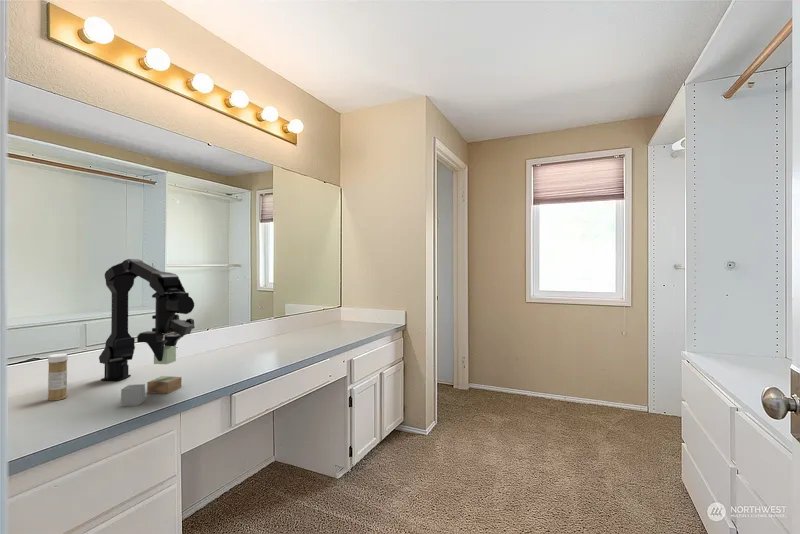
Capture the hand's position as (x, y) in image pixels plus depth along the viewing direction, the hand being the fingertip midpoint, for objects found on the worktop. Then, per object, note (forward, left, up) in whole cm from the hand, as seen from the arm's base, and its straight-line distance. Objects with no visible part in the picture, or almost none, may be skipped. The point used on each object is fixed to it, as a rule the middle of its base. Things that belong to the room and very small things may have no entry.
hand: (164, 359), depth 134 cm
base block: (0, 0, -10) cm, 10 cm away
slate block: (-1, -13, -10) cm, 17 cm away
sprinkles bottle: (-26, -12, -10) cm, 30 cm away
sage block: (0, 0, -1) cm, 1 cm away
